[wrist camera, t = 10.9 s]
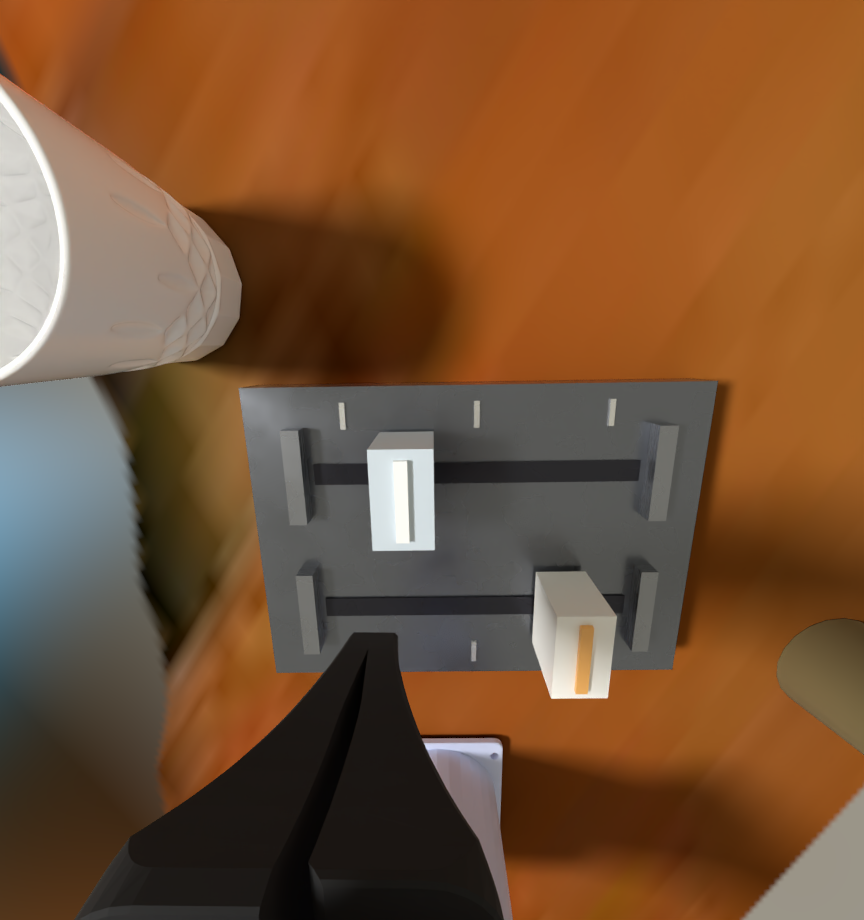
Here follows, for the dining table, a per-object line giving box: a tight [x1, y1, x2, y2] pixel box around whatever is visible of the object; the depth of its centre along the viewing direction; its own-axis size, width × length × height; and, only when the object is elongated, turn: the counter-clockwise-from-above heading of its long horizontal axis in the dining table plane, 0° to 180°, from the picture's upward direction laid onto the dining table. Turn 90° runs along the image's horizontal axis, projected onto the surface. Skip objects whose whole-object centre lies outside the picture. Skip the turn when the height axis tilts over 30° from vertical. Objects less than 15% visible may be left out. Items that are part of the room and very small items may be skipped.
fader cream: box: [532, 571, 617, 698], centre depth 18 cm, size 4×2×4 cm, turn 1°
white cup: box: [0, 74, 242, 387], centre depth 14 cm, size 8×8×10 cm
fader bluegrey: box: [367, 431, 435, 551], centre depth 17 cm, size 4×2×4 cm, turn 1°
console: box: [239, 379, 718, 673], centre depth 20 cm, size 15×21×3 cm
